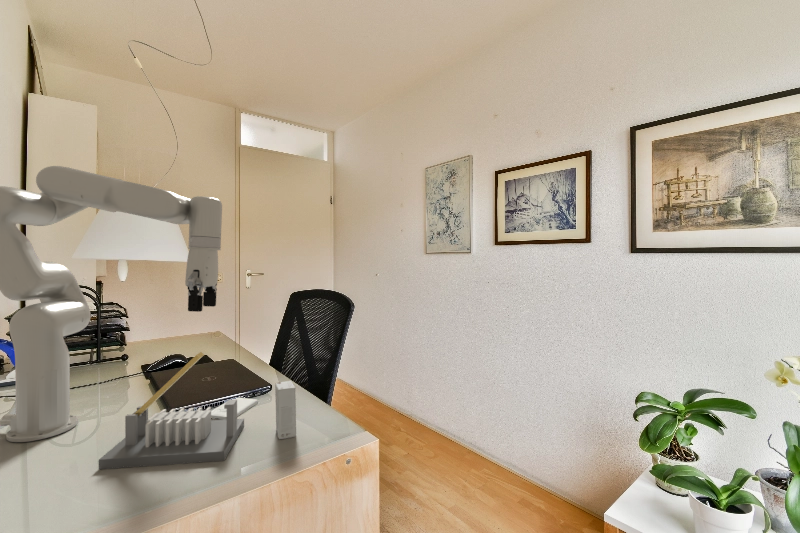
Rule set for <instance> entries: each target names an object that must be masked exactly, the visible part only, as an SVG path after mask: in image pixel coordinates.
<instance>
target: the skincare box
mask: <svg viewBox="0 0 800 533" xmlns="http://www.w3.org/2000/svg"><path fill="white" fill-rule="evenodd" d="M274 386H275V389H274V390H275V393H274V395H275V426H276V428H275V429H276V434H277V437H278V439H279V440H283V439H284V440H285V439H291V438H295V437H297V407H296V406H297V405H296V404H297V401H296V400H297V398H296V396H297V395H296V386H295V385H294V383H293V381H292V380H286V381H278V382H276V383H275V385H274Z"/></svg>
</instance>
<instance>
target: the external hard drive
mask: <svg viewBox="0 0 800 533" xmlns="http://www.w3.org/2000/svg"><path fill="white" fill-rule="evenodd" d="M231 399H232V398H231ZM232 400H237V417H239V416H240V415H241V414H244V413H245V412H246V411H248V410H249V409H250V408H253V407H254V406H255V405H257V404H258V403H259V399H255V398H246V397H238V398H236V399H232ZM225 403H226V402H223V404H221V405H218V406H217V407H215V408H214V409H211V418H212V419H211V420H227V409H224V405H225Z"/></svg>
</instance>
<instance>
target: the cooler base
mask: <svg viewBox="0 0 800 533" xmlns="http://www.w3.org/2000/svg"><path fill="white" fill-rule="evenodd" d="M224 403H225V405H224V409H227V420H220V419H211V411H212V406H208V407H207V408H206V409H205V410H203V407H198V408H197V409H196V410H194V407H190V408H188V410H187V411H185V407H184V408H180V409H179V410H178V411H176V408H172V409H170V410H169V412H168V411H167V409H166V408H165V409H164V408H163V409H162V410H161V411H160V412H155V413H154V414H153V415H152V416H151V417H149V408H148V409H147V410H146V411H145V412H144V414H143V415H142V416H141V417H139V418H138V419H137V414H133V413H132V414H131V413H129V414H126V415H125V418H124V419H125V420H124V422H125V425H124V427H125V429H124V432H125V434H124V435H125V436H124V438H123V439H122V440H120V441H119V442H118V443H117V444H115V446H113V447H112V448H111V449H110V450H108V451H107V452H106V453H105V454H104V455H102V456H101V457H100V458H99V459H98V470H107V469H108V470H109V469H123V468H137V467H140V468H141V467H149V466H151V467H152V466H167V465H168V466H169V465H181V464H194V463H195V464H196V463H206V462H207V463H208V462H223V461H226V458H227V457H228V455H229V453H230V451H231V450H232V448H233V446H234V445H235V443H236V441H237V439H238V438H239V436H240V434H241V432H242V431H243V429H244V427H245V418H238V416H237V400H231V399H228V400H227V401H226V402H224ZM142 406H143V405H140V406H137V407H136V411H137V410H138V409H140V408H141V407H142Z"/></svg>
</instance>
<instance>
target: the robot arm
mask: <svg viewBox="0 0 800 533" xmlns="http://www.w3.org/2000/svg"><path fill="white" fill-rule="evenodd" d="M35 182H36V183H35V184H36V186H37V188H38V190H39V191H41V192H40V193H39V192H38V193H37V192H34V191H29V190H25V189H22V188H18V187H17V188H15V187H11V186H2V185H0V292H1V293H2V295H3V296H4V297H5V298H7V299H9V300H12V301H18V302H19V301H21V302H22V301H24V302H25V301H33V300H39V302H37V303H34V304H33V303H32V304H29V305H26V306H24V307H23V308H20V309H19V310H18V311H17V312H15V313H14V314H13V315H12V317H11V318H10V321H9V324H8V325H9V326H8V331H9V334H10V338H11V341H12V342H11V343H12V347H13V350H14V364H15V365H14V367H15V368H14V369H15V371H14V372H15V413H10V414H4V415H3V416H2V417H1V420H0V427H5V426H6V427H7V426H9V427H10V428H9V430H8V431H7V432H6V434H5V438H6V440H7V441H8V442H11V443H28V442H35V441H39V440H44V439H47V438H53V437H55V436H57V435H61V434H64V433H65V432H68V431H70V430H71V429H73V428H74V427H75V426H77V425H78V423H79V417H77V416H76V415H72V414H70V413H71V411H70V410H71V404H70V403H71V402H70V401H71V397H70V396H71V394H70V393H71V392H70V389H71V385H70V384H71V380H70V379H71V377H70V376H71V375H70V372H71V371H70V367H71V366H70V363H71V362H70V361H71V359H70V351H69V349H68V348H69V347H68V346H67V344H66V341H65V339H64V337H67V336H70V335H73V334H77V333H79V332H81V331H82V330H84V329H85V328H87V326H88V325H89V323H90V321H91V316H92V315H91V310H90V309H91V308H90V306H89V305H88V302H87V300H86V297H85V296H84V294H83V290H82V289H81V287H80V285H79V283H78V281H77V279H76V277H75V275H74V274H73V272H72V271H71V270H70V269H69V268H68V267H66V266H65V265H63V264H61V263H58V262H53V261H42V260H41V259H40V258H39V256H38V255H37V252H36V250H35V249H34V246H33V244H32V243H31V241H30V239H29V238H28V237H27V236H26V235H25V234H24V233H23V232H22V231H21V230H20V229H19V228H18V227H17V225H25V226H34V227H46V226H52V225H53V224H57V223H59V222H61V221H63V220H65V219H67V218H69V217H71V216H74V215H76V214H77V213H79V212H81V211H84V210H85V209H88V208H93V209H97V210H101V211H105V212H110V213H116V212H119V213H125V214H129V215H135V216H138V217H142V218H143V217H144V218H148V219H152V220H156V221H160V222H166V223H170V224H174V225H188V227H189V228H188V254H187V261H186V267H185V268H186V269H185V280H184V282H185V286H186V287H187V290H188V292H187V296H188V297H187V301H188V302H187V311H188V312H197V313H198V312H203V307H213V308H214V307H216V306H217V290H218V289H217V286H218V280H219V253H218V251H221V250H222V248H221V247H222V243H221V242H222V222H223V216H222V215H223V204H222V201H221V200H220V199H219V198H215V197H212V196H211V197H210V196H203V195H202V196H199V195H197V196H193V197H191V198H188V197H185V196H182V195H179V194H177V193H175V192H172V191H169V190H166V189H162V188H157V187H153V186H149V185H144V184H141V183H135V182H133V181H128V180H127V181H126V180H123V179H120V178H116V177H111V176H106V175H101V174H98V173H94V172H91V171H90V172H89V171H85V170H81V169H76V168H72V167H67V166H62V165H50V166H46V167H44V168H42V169H40V171H39V172H38V173H37V174H36V177H35ZM203 290H204V291H203ZM202 294H203V295H202Z"/></svg>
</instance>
